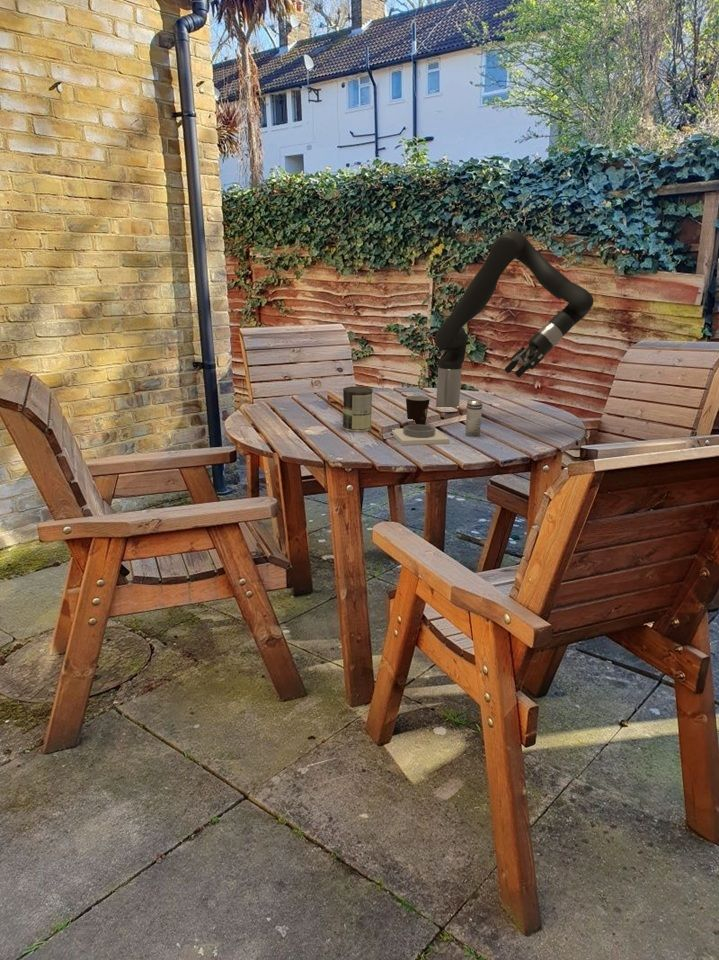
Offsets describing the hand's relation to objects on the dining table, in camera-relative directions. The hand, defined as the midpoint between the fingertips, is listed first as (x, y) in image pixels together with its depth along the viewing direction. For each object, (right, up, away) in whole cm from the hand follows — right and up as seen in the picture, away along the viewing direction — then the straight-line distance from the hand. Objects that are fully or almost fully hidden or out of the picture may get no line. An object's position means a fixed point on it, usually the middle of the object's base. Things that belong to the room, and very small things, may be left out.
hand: (511, 373), depth 230 cm
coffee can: (-53, -18, +9) cm, 56 cm away
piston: (-13, -21, +4) cm, 24 cm away
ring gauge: (-32, -22, -2) cm, 39 cm away
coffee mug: (-30, -16, +17) cm, 38 cm away
